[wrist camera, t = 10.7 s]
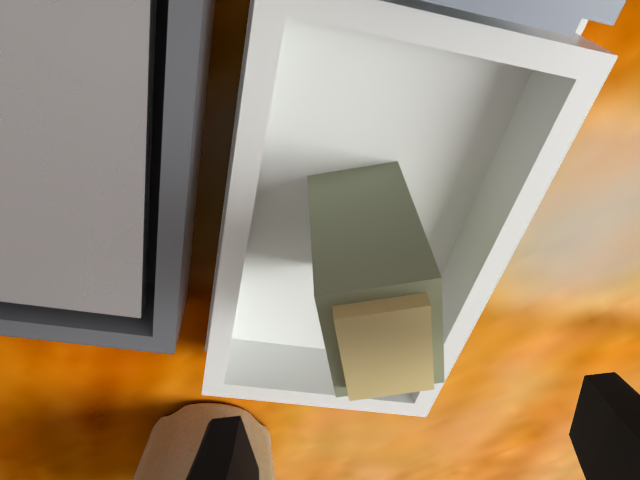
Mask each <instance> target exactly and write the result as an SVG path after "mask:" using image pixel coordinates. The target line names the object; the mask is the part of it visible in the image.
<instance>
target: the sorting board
mask: <svg viewBox="0 0 640 480" xmlns="http://www.w3.org/2000/svg"><path fill="white" fill-rule="evenodd" d="M625 2H626V0H250V6H249V14H248V21H247V29H246V37H245V44H244V52H243V60H242V67H241V75H240V83H239V90H238V98H237V106H236V113H235V121H234V129H233V136H232V144H231V152H230V159H229V167H228V175H227V182H226V190H225V198H224V205H223V213H222V221H221V228H220V236H219V244H218V251H217V259H216V267H215V274H214V282H213V290H212V297H211V305H210V313H209V320H208V328H207V336H206V343H205V351H207V358H206V366H205V373H204V380H203V388H202V395H208V396H218V397H228V398H238V399H248V400H258V401H268V402H279V403H289V404H299V405H309V406H319V407H329V408H339V409H349V410H360V411H370V412H380V413H390V414H400V415H410V416H420V417H426V416H427V414H428V412H429V411H430V409H431V407H432V405H433V403H434V401H435V399H436V397H437V396H438V394H439V392H440V390H441V388H442V386H443V384H444V383H436V384H434V390H427V391H419V392H412V393H405V394H398V395H391V396H383V397H376V398H369V399H362V400H355V401H349V397H348V396H343V397H336V396H335V391H334V386H333V382H332V377H331V372H330V368H329V363H328V359H327V354H326V349H325V345H324V340H323V336H322V331H321V326H320V322H319V317H318V313H317V308H316V303H315V299H314V286H313V269H312V251H311V234H310V216H309V198H308V181H307V176H309V175H315V174H321V173H328V172H334V171H340V170H346V169H352V168H359V167H365V166H371V165H377V164H383V163H390V162H396V161H398V163H399V166H400V168H401V171H402V174H403V176H404V179H405V182H406V184H407V187H408V189H409V192H410V195H411V197H412V200H413V203H414V205H415V208H416V211H417V213H418V216H419V218H420V221H421V224H422V226H423V229H424V232H425V234H426V237H427V240H428V242H429V245H430V248H431V250H432V253H433V255H434V258H435V261H436V263H437V266H438V269H439V271H440V274H441V277H442V300H443V342H444V382H445V381H446V379H447V377H448V375H449V373H450V371H451V369H452V367H453V366H454V364H455V362H456V360H457V358H458V356H459V354H460V352H461V350H462V349H463V347H464V345H465V343H466V341H467V339H468V337H469V335H470V334H471V332H472V330H473V328H474V326H475V324H476V322H477V320H478V319H479V317H480V315H481V313H482V311H483V309H484V307H485V305H486V304H487V302H488V300H489V298H490V296H491V294H492V292H493V290H494V289H495V287H496V285H497V283H498V281H499V279H500V277H501V275H502V273H503V272H504V270H505V268H506V266H507V264H508V262H509V260H510V258H511V257H512V255H513V253H514V251H515V249H516V247H517V245H518V243H519V242H520V240H521V238H522V236H523V234H524V232H525V230H526V228H527V227H528V225H529V223H530V221H531V219H532V217H533V215H534V213H535V211H536V210H537V208H538V206H539V204H540V202H541V200H542V198H543V196H544V195H545V193H546V191H547V189H548V187H549V185H550V183H551V181H552V180H553V178H554V176H555V174H556V172H557V170H558V168H559V166H560V165H561V163H562V161H563V159H564V157H565V155H566V153H567V151H568V150H569V148H570V146H571V144H572V142H573V140H574V138H575V136H576V134H577V133H578V131H579V129H580V127H581V125H582V123H583V121H584V119H585V118H586V116H587V114H588V112H589V110H590V108H591V106H592V104H593V103H594V101H595V99H596V97H597V95H598V93H599V91H600V89H601V88H602V86H603V84H604V82H605V80H606V78H607V76H608V74H609V73H610V71H611V69H612V67H613V65H614V63H615V61H616V59H617V57H618V55H616V54H614V53H612V52H610V51H608V50H607V49H605V48H603V47H601V46H599V45H597V44H596V43H594V42H592V41H590V40H588V39H586V38H585V37H583V36H581V34H582V32H583V30H584V28H585V26H586V24H587V22H588V20H591V21H595V22H599V23H603V24H607V25H611V26H613V25H614V23H615V21H616V19H617V17H618V15H619V14H620V12H621V10H622V8H623V6H624V4H625Z"/></svg>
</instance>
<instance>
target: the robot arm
mask: <svg viewBox="0 0 640 480" xmlns="http://www.w3.org/2000/svg"><path fill="white" fill-rule="evenodd" d="M569 436H570V438H571V441H572V444H573V446H574V449H575V452H576V455H577V457H578V460H579V463H580V465H581V468H582V470H583V473H584V475H585V478H586V480H640V395H639V394H638V393H637V392H636V391H635V390H634V389H633V388H632V387H631V386H630V385H629V384H627V383H626V382H625V381H624V380H623V379H622V378H621V377H620V376H619V375H617V374H616V373H615V372H612V373H603V374H595V375H586V376H584V380H583V384H582V388H581V391H580V395H579V399H578V403H577V406H576V410H575V414H574V418H573V422H572V425H571V429H570V433H569ZM186 480H259V467H258V464H257V462H256V459H255V456H254V453H253V450H252V447H251V444H250V441H249V438H248V435H247V433H246V430H245V427H244V424H243V421H242V418H241V416H232V417H223V418H215V419H212V420H211V421H210V422H209V423H208V425H207V428H206V431H205V433H204V436H203V439H202V441H201V444H200V446H199V449H198V451H197V454H196V456H195V459H194V461H193V464H192V466H191V468H190V471H189V473H188V475H187V477H186Z"/></svg>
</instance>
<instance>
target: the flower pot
mask: <svg viewBox="0 0 640 480" xmlns="http://www.w3.org/2000/svg"><path fill="white" fill-rule="evenodd" d="M232 416H241V418H242V421H243V424H244V427H245V430H246V433H247V435H248V438H249V441H250V444H251V447H252V450H253V453H254V456H255V459H256V462H257V464H258V467H259V480H275V475H274V467H273V458H272V447H271V437H270V433H269V431H268V429H267V427H266V426H263V425H261V424H260V423H259V422H258V421H257V420H256V419H255V418H254V417H253V416H252V415H251V414H250V413H249V412H248V411H246V410H243V409H241V408H238V407H235V406H231V405H226V404H217V403H198V404H191V405H186V406H184V407H183V408H181V409H180V410H178V411H177V412H175V413H173V414H172V415H169V416H166V417H165V416H164V417H161V418H160V419H159V420H158V421H157V422H156V424H155V425H154V427H153V429H152V431H151V433H150V436H149V439H148V442H147V444H146V447H145V449H144V452H143V454H142V457H141V459H140V462H139V465H138V467H137V470H136V472H135V475H134V477H133V479H132V480H186V477H187V475H188V473H189V471H190V468H191V466H192V464H193V461H194V459H195V456H196V454H197V451H198V449H199V446H200V444H201V441H202V439H203V436H204V433H205V431H206V428H207V425H208V423H209V422H210V421H211V420H212V419H215V418H223V417H232Z"/></svg>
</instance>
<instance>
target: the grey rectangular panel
mask: <svg viewBox="0 0 640 480" xmlns="http://www.w3.org/2000/svg"><path fill="white" fill-rule="evenodd" d="M156 13H157V0H0V301H1V302H9V303H17V304H26V305H34V306H42V307H51V308H59V309H67V310H76V311H84V312H92V313H101V314H109V315H117V316H126V317H134V318H141V317H142V314H143V311H144V308H145V305H146V291H147V263H148V235H149V207H150V180H151V152H152V124H153V97H154V69H155V41H156Z"/></svg>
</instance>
